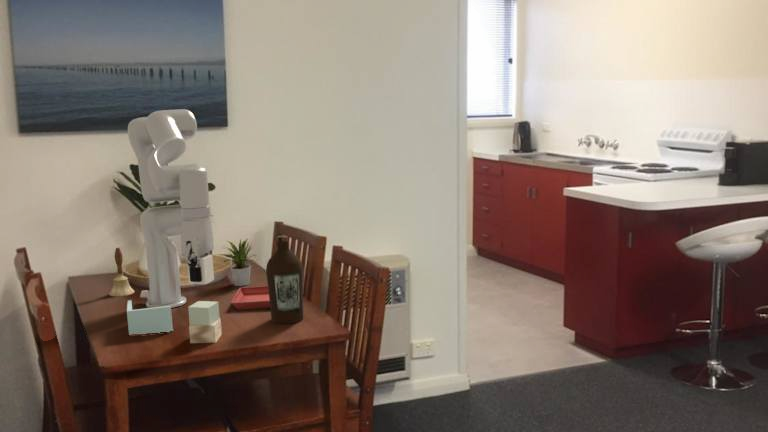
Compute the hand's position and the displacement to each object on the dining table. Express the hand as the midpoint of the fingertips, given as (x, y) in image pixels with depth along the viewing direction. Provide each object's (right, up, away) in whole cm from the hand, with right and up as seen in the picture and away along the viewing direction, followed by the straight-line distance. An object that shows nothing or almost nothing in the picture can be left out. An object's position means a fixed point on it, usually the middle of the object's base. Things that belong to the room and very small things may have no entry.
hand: (201, 278), depth 219 cm
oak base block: (+1, -17, +3) cm, 17 cm away
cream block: (0, -1, 0) cm, 1 cm away
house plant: (0, -7, +63) cm, 63 cm away
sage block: (0, -12, +2) cm, 12 cm away
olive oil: (+21, -14, +18) cm, 31 cm away
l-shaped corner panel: (-18, -16, +15) cm, 28 cm away
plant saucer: (+11, -11, +38) cm, 41 cm away
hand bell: (-40, -10, +55) cm, 69 cm away
